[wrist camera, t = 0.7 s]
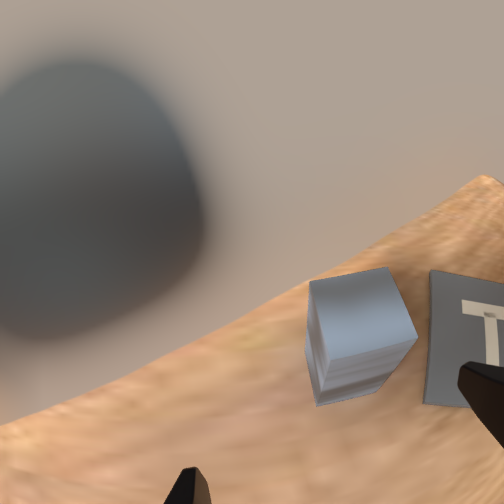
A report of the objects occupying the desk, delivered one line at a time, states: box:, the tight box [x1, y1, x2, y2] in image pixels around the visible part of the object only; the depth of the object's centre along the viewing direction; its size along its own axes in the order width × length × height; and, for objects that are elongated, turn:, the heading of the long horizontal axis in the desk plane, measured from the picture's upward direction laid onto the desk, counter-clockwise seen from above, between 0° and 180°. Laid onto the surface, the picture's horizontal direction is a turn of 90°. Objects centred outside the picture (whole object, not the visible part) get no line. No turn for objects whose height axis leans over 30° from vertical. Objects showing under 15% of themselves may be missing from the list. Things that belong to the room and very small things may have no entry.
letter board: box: [423, 270, 504, 408], centre depth 22 cm, size 14×14×1 cm
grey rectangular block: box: [305, 267, 418, 407], centre depth 19 cm, size 5×5×10 cm
